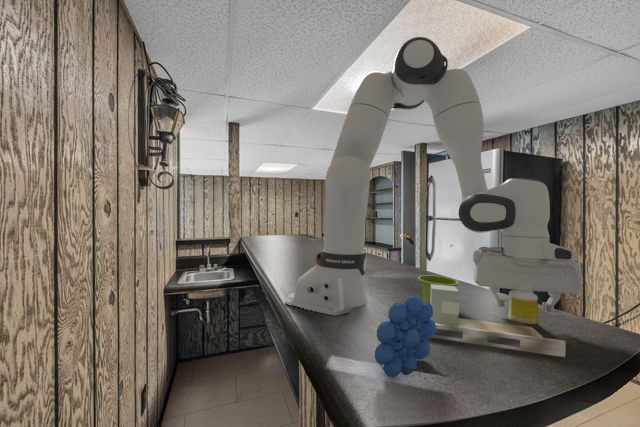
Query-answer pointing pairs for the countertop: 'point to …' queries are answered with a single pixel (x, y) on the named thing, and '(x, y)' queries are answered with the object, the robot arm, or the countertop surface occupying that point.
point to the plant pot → (436, 280)
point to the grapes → (405, 336)
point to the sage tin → (444, 304)
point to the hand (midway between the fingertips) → (523, 308)
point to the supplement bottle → (523, 305)
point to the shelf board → (500, 336)
